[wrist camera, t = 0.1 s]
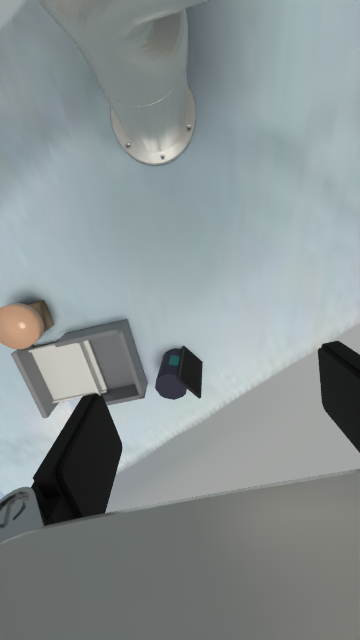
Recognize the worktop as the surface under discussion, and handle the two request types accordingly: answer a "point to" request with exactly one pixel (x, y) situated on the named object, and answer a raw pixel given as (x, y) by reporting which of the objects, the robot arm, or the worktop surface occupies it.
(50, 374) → the tray
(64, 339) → the housing
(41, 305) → the brown wooden cube
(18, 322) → the tan domed disc
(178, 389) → the speaker
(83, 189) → the worktop surface
